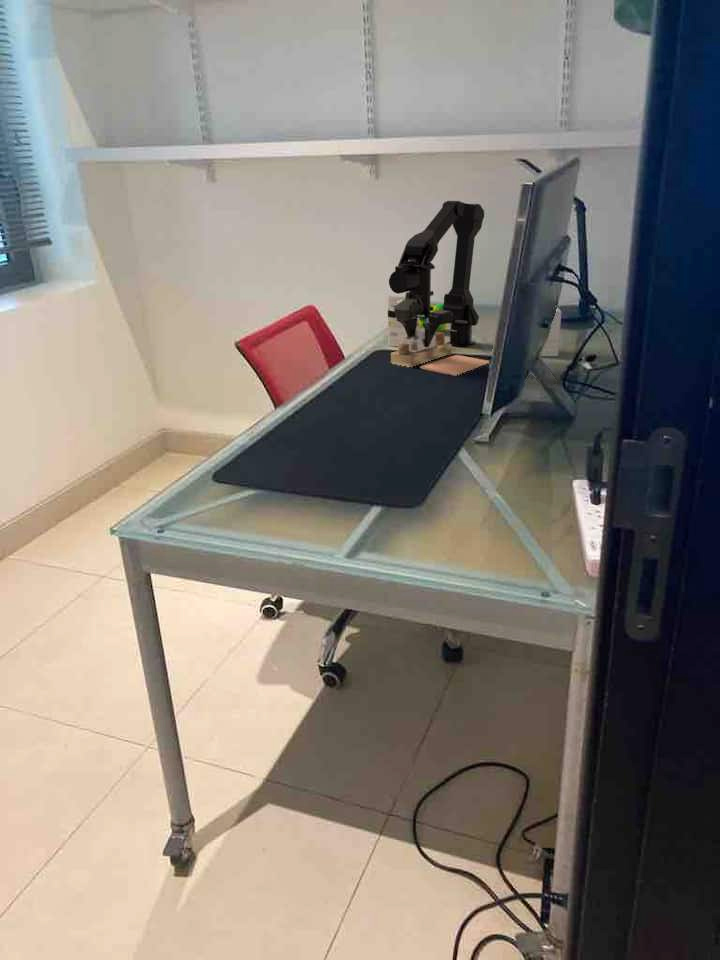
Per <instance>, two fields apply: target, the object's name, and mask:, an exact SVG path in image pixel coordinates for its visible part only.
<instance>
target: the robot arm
mask: <svg viewBox="0 0 720 960" xmlns="http://www.w3.org/2000/svg"><path fill="white" fill-rule="evenodd" d="M484 218H485V210H484V208H483V207H482V205H481V203H480V204H479V203H465V202H462V201H460V200H446V201H444V202H443V204H442V206H441V208H440V209H439V211H438V213H437V214H436V215H435V216H434V217H433V218H432V220H431V221H430V223H428V225H427V226H426V227H425V229H423V230H422V231H420V232H419V233H416V234H414V235H413V236H412V237H411V238H410V239H408V241H407V242H406V244H405V246H404V249H403V251H402V253H401V257H400V259H399V262H398V264H397V265H395V267H394V271H393V272H392V273H390V277H389V279H388V285H389V288H390V289H391V291H392V292H393V293H394V294H398V295H399V294H404V293H405V296H404V297H405V300H404V301H402V300H400V302H398V303H399V304H398V305H395V306H390V308H389V309H388V308H387V318H388V317H391V318H396V320H397V321H399V322H400V323H401V324H402V325H403V326H404V328H405V330H406V333H407V336H408V337H409V336H412V335H415V330H416V325H417V317H418V318H425V319H427V323H423V324H422V325H423V327H424V328H425V347H429V345H430V343H431V341H432V339H433V336H434V334H435V332H436V330H437V329H438V327H439V325H442V324H446V325H447V324H450V330H449V341H448V342H447V341H446V342H445V343H446V344H451V346H454V347H460V348H466V347H468V346H472V345H475V344H476V341H473V340H472V332H473V331H472V330H473V329H472V328H473V326H477V325H478V324H479V323H478V322H479V319H480V316H479V314H478V313H477V311H476V309H475V307H474V297H473V295H472V292H471V291H470V286H471V285H470V284H471V275H472V266H473V255H474V245H475V238H476V237H477V235H478V234H479V232H480V230H481V229H482V225H483V223H484ZM451 227H453V229H454V231H455V234H456V246H455V257H454V266H453V275H452V284H451V289H450V290H449V291H448V293H445V294H444V296H443V310H438V311H434V312H430V311H433V307H432V306H430V303H431V296H434V290H431V284H432V283H431V281H432V279H431V278H432V273H431V272H432V271H431V270H435V268H436V267H435V265H434V264H433V263H432V261H433V260H434V259H435V257H436V255H437V253H438V251H439V245H438V244H439V243H440V241H441V240H442V239H443V238H444V236H445V235H446V233H447V232H448V230H450V228H451ZM422 314H423V315H422Z"/></svg>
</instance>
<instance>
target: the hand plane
mask: <svg viewBox="0 0 720 960" xmlns="http://www.w3.org/2000/svg"><path fill="white" fill-rule="evenodd" d="M434 335H436V346H434V347H431V348H427V349H424V350H421V351H412V350H409V344H399V346H398V350H396V351H393V352H390V364H391V363H392V365H395V364H396V366H400V365H401V366H400V367H404V366H406V367H405V368H409V367H411V368H414V367H413V366H415V367H416V365H418V366H420V365H419V364H421V365H424V364H426V363H425V362H427V363H429V362H428V361H430V362H432V361H431V360H434V359H437V358H440V357H443V356H446V355H449V356H452V345H451V344H446V343H447V342H445V341H446V340H445V337H446V335H445V331H440V332H436V333H435V334H434ZM446 357H447V356H446ZM443 358H444V357H443ZM440 359H441V358H440ZM437 360H438V359H437ZM434 361H435V360H434ZM423 363H424V364H423Z"/></svg>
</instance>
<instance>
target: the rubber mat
mask: <svg viewBox="0 0 720 960" xmlns="http://www.w3.org/2000/svg"><path fill="white" fill-rule="evenodd" d="M489 361H490V360H487V359H480V358H476V357H469V356H465V355H460V354H455V355H450V356H447V357H444V358H441V359H437V360H434V361H431V362H428V363H425V364H422V365H421V366H420V365H419V368H421V369H420V370H425V371H431V372H436V373H440V374H444V375H449V374H450V376H454V377H457V375H458V376H461V375H463V374H462V373H464V374H466V373H465V372H467V371H470V370H472V371H474V370H473V369H475V368H478V367H480V366H482V365H486V364H487V363H488V364H489ZM489 365H490V364H489ZM478 369H479V368H478ZM475 370H476V369H475ZM470 372H471V371H470ZM467 373H468V372H467ZM460 374H461V375H460Z"/></svg>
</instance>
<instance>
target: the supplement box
mask: <svg viewBox="0 0 720 960" xmlns="http://www.w3.org/2000/svg"><path fill="white" fill-rule="evenodd" d="M556 307H557V309H556V313H555V316H554V319H553V321H552V324H551V329H550V333H549V337H548V339H547V342H546V344H545V347H544V349H543V352H542V356H541V357H559V351H560V350H559V349H560V348H559V347H560V336H561V324H562V323H561V322H562V311H561V309H560V308H559V307H558V306H556Z"/></svg>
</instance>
